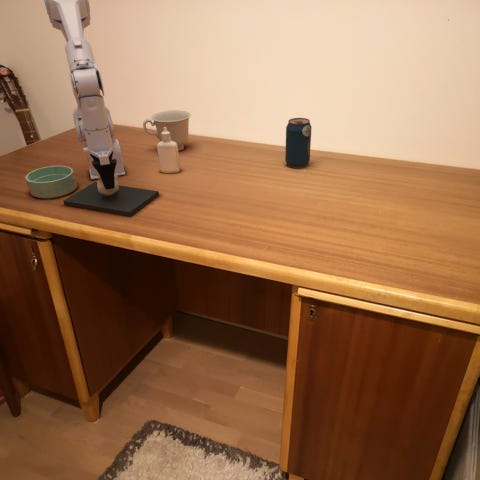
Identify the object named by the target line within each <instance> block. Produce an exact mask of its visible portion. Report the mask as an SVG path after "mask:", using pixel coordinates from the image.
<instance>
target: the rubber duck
mask: <svg viewBox="0 0 480 480" xmlns="http://www.w3.org/2000/svg"><path fill="white" fill-rule="evenodd" d="M98 178H99V179H97V181H96V182H97V187H98V191H99V193H101V194H103V195H107V196H109V195H112V194H114V193H115V192H116V191H118V189H119V185H120V184H119V182H118V181H119V176H117V175H114V178H115V187H114V189H108V190H106V189H105V187H104V185H103V182H102V180H101V177H100V175H99V173H98Z"/></svg>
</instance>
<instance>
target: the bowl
mask: <svg viewBox="0 0 480 480" xmlns="http://www.w3.org/2000/svg"><path fill="white" fill-rule="evenodd" d="M25 182H26V185H27V188H28V191H29V194H30V195H31V196H32V197H35V198H38V199H44V200H45V199H46V200H47V199H55V198H56V199H57V198H61V197H64V196H67V195H69V194H71V193H73V192H74V191H75V190H76V189H77V187H78V183H77V180H76V175H75V173H74V169H73V168H72V167H70V166H67V165H49V166H44V167H39V168H36V169H34V170H32V171H30V172H28V173H27V174H26V175H25Z"/></svg>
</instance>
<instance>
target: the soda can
mask: <svg viewBox="0 0 480 480" xmlns="http://www.w3.org/2000/svg"><path fill="white" fill-rule="evenodd" d="M312 129H313V127H312V125H311V120H310V119H309V118H306V117H293V118H289V119H288V123H287V125H286V126H285V151H284V152H285V154H284V155H285V156H284V160H285V163H286V165H287V166H288V167H289V168H293V169H302V168H306V167H307V166H308V164H309V163H310V160H311V145H312Z"/></svg>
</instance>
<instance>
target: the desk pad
mask: <svg viewBox="0 0 480 480" xmlns="http://www.w3.org/2000/svg"><path fill="white" fill-rule="evenodd" d="M97 182H98V181H94V182H92V183H90V184H89V185H87V186H85V187H84V188H82V189H80V190H79V191H77V192H76V193H75V192H74V193H73V194H71V195H70V196H68V197H67V198H65V199H64V200H63V205H64V206H67V207H68V206H69V207H74V208H79V209H85V210H91V211H95V212H103V213H108V214H112V215H113V214H114V215H120V216H126V217H130V218H131V217H132V216H134V215H135V214H136V213H138V212H139V211H140V210H142V209H144V208H145V207H146V206H148V205H149V204H150V203H152V201H154V200H155V199H157V198H158V197H159V196H160V191H159V190H155V189H147V188H142V187H141V188H140V187H133V186H128V185H127V186H126V185H120V184H118V185H119V189H118V191H116V192H115V193H114V194H112V195H109V196H107V195H103V194H101V193H99V191H98V187H97Z"/></svg>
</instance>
